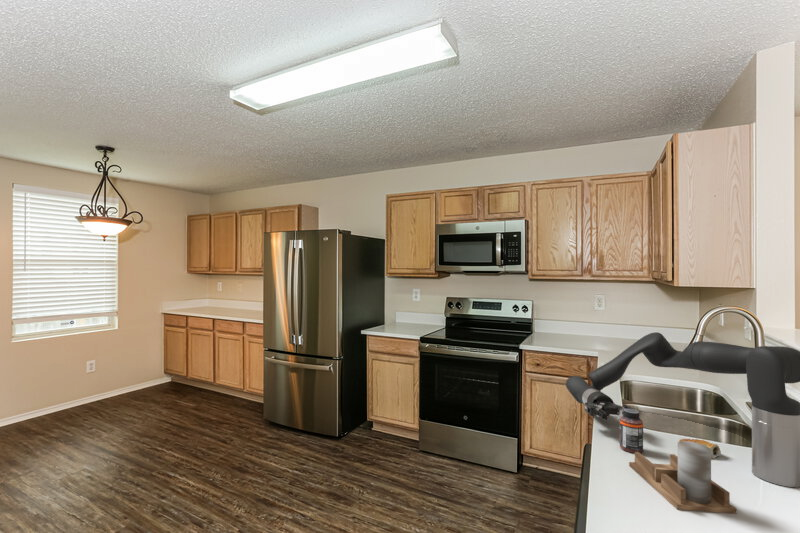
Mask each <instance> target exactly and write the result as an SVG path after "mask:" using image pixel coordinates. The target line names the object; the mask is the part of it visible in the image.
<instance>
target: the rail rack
mask: <svg viewBox="0 0 800 533" xmlns="http://www.w3.org/2000/svg"><path fill="white" fill-rule="evenodd" d="M669 456H670V458H669V459H670V462H669V463H670V464H667V463H652V461H650V460H649V459H648V458H646V456H644V455H643V454H641V453H639V452H635V453H634V461H629V462H628V466H629V467H630V468H631V469H632V470H633V471H634V472H635V473H636V474H637V475H638V476H640V478H642V479H643V480H644V481H646V483H648V485H650V487H652V488H653V489H654V490H655V491H656V492H657V493H659V495H661V496H662V497H663V498H664V499H665V500H666V502H669V504H671V505H672V506H673V507H674V508H675V509H676V510H679V511H680V510H682V511H694V512H695V511H697V512H706V513H707V512H709V513H723V514H724V513H725V514H737V508H736V507H735V506H734V505H732V504H731V503H730V499H731V498H730V496H731V495H730V494H731V493H730V492H729V491H728V490H727V489H725V488H724V487H723V486H721V485H719V484H717V483H716V482H715V481H713V480H712V459H711V449H710V448H708V447H707V446H704V445H702V444H699V443H695V442H689V441H680V440H679V441H678V442H677V455H676V454H674V453H672V454H671V453H670V455H669Z"/></svg>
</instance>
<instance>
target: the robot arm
mask: <svg viewBox="0 0 800 533" xmlns="http://www.w3.org/2000/svg"><path fill="white" fill-rule="evenodd" d="M640 354H643V355H644V357H645V358H646V359H647V361H648V362H649V363H650V364H652V365H653V366H655V367H659V368H675V369H677V368H679V369H687V370H688V369H689V370H694V371H702V372H706V373H713V374H725V375H746V383H747V392H748V394H749V398H750V399H751V472H752V474H753V475H754V476H756V477H757V478H759V479H761V480H763V481H766V482H768V483H772V484H775V485H779V486H784V487H789V488H800V402H799V401H798V400H796V399H794V398H791V397H790V396H789V395H788V394H787V391H786V390H787V389H786V384H797V383H800V350H798V349H796V348H793V347H789V346H773V345H772V346H771V345H769V346H768V345H767V346H766V345H761V346H756V347H748V346H744V345H743V346H741V345H739V344H737V345H736V344H730V343H722V342H715V341H701V340H699V341H693V342H691V343H689V344H688V345H687V346H685V348H684V349H683V350H682V351H681V350H678V349H675V348H674V347H673V346H672V344H671V343H670V342H669V341H668V340H667V338H666V337H665V336H664V335H663V334H662V333H660V332H651V333H648V334H646V335H644V336H643V337H641V338H640V339H638V340H637V341H635V342H634V343H632V345H630V346H628V347H627V348H626V349H624V350H623V351H622V352H621V353H619V354H618V355H617V356H615V357H614V358H613V359H611V360H609V361H608V362H606V363H604V364H602V365H600V366H599V367H597V368H595V369H594V370H592V371H590V372H589V373H588V378H589V380H590V382H591V385H590V384H589V383H588V382H587V381H586V380H585V379H584V378H583V377H581V376H579V375H572V376H569V378H567V379H566V382H565V387H566V390H568V392H569V393H570V395H571V396H572V397H573V399H574V400H575V401H576V402H577V403H579V404H582V405H584V411H585V412H586V413H587V415H589V416H592V417H594V416H595V415H596V417H598V418H600V419H602V420H603V421H608V417H609V416H612V417H613V416H615V417H617V418H620V417H621V416H623V415H624V414H623V411H624V409H634V407H631V406H630V405H627V404H622V405H620V404H616V403H615V402H614V400H613V398H611V397H610V396H608V395H607V394H606V393H604V392H602V390H603V389H604V388H606V387H608V386H609V387H610V385H612V384H614V383H616V382H617V381H619V380H620V379H621V378H622V377H623V376H624V374H625V373H626V371H627V368H628V367H629V365H630V364H631V362H632V360H633V359H635V358H636V357H637V356H638V355H640ZM634 410H636V409H634Z"/></svg>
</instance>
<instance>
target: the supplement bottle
mask: <svg viewBox="0 0 800 533" xmlns="http://www.w3.org/2000/svg"><path fill="white" fill-rule="evenodd" d="M623 414H624V415H623V416H621V417H619V448H620V449H622V451H625V452H628V453H631V454H635V452H639V453H640V454H641V453H643V451H644V422H643V420H642V419H641V418H640V411H639V410H636V409H635V410H634V408H633V409H624V411H623Z"/></svg>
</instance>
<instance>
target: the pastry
mask: <svg viewBox="0 0 800 533" xmlns="http://www.w3.org/2000/svg"><path fill="white" fill-rule="evenodd" d="M679 441H689V442H695V443H699V444H702V445H704V446H707V447H708V448H710V449H711V460H713V459H715V458H717V457H719V456H721V454H722V452H721V448H720V446H719V445H718V444H716V443H713V442H712V443H711V442H710V441H707V440H704V439H698V438H695V439H694V438H693V439H691V438H682V439H679Z"/></svg>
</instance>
